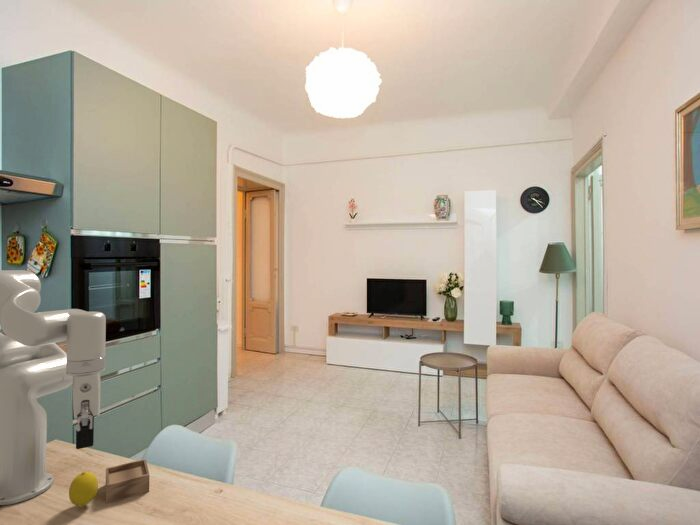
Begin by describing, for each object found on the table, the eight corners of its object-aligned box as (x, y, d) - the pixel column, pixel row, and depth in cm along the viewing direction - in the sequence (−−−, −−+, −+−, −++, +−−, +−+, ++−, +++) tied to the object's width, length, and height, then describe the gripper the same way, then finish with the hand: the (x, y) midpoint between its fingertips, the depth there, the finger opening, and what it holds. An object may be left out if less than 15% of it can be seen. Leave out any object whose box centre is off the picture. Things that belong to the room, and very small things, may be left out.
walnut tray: (106, 503, 91) (106, 485, 91) (105, 484, 99) (105, 468, 99) (149, 491, 96) (149, 474, 96) (145, 474, 104) (145, 458, 104)
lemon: (82, 515, 87) (83, 480, 87) (62, 512, 88) (63, 476, 88) (103, 500, 92) (103, 467, 92) (83, 497, 93) (84, 464, 93)
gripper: (106, 371, 85) (105, 449, 85) (104, 355, 99) (103, 422, 99) (63, 377, 81) (62, 459, 81) (68, 359, 95) (67, 429, 95)
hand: (85, 438), depth 90 cm, fingers open, 9 cm apart
